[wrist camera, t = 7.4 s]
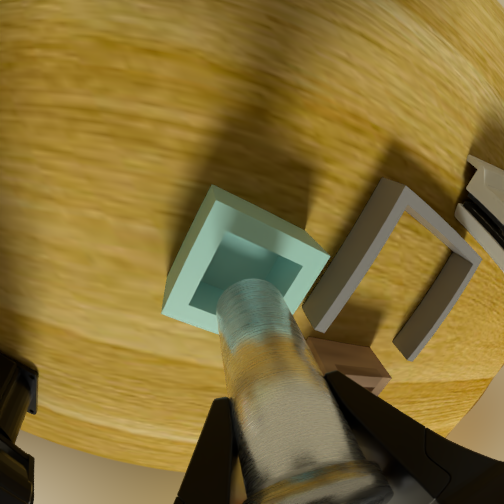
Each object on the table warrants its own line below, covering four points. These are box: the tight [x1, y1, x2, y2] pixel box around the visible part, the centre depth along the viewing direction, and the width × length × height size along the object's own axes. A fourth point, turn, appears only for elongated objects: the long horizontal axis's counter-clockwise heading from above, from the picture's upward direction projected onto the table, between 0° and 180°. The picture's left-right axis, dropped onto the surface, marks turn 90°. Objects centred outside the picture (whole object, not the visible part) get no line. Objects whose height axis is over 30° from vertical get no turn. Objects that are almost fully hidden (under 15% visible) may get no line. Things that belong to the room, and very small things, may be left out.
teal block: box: [161, 184, 330, 334], centre depth 16 cm, size 6×6×4 cm
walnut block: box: [306, 337, 391, 396], centre depth 21 cm, size 6×6×4 cm
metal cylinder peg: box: [216, 278, 394, 504], centre depth 8 cm, size 3×3×9 cm
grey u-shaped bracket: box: [302, 177, 482, 361], centre depth 19 cm, size 10×11×2 cm
